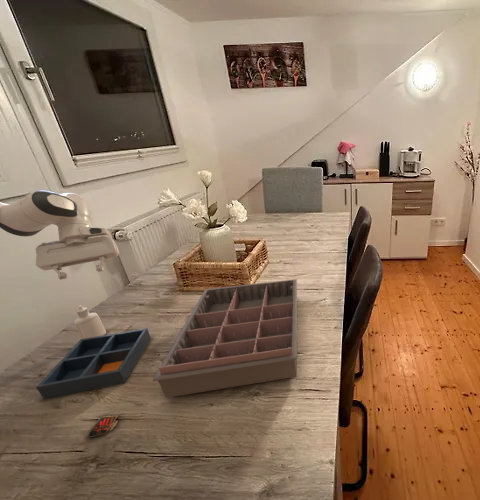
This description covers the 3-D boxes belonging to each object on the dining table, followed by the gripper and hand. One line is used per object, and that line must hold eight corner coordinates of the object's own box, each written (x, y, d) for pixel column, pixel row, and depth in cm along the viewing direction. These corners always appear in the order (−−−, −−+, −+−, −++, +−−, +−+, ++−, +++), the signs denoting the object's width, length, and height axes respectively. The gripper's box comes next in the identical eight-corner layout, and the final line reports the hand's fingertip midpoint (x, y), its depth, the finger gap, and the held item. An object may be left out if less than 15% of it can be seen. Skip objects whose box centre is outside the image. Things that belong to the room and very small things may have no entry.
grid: (43, 399, 68) (35, 387, 67) (86, 349, 84) (80, 339, 82) (125, 383, 72) (119, 371, 70) (151, 338, 88) (147, 328, 86)
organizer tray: (299, 297, 107) (296, 274, 103) (300, 382, 70) (296, 352, 66) (210, 308, 102) (203, 284, 98) (162, 405, 66) (148, 374, 62)
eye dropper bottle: (104, 338, 88) (89, 306, 83) (82, 344, 86) (65, 312, 81) (108, 330, 92) (93, 299, 87) (86, 336, 89) (70, 305, 85)
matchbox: (86, 440, 58) (85, 438, 58) (97, 418, 63) (97, 416, 63) (113, 432, 60) (112, 430, 60) (122, 411, 64) (121, 410, 64)
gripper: (29, 240, 87) (31, 280, 83) (110, 227, 97) (116, 263, 93) (41, 248, 93) (44, 286, 89) (117, 235, 102) (123, 269, 98)
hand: (82, 274), depth 91 cm, fingers open, 8 cm apart
